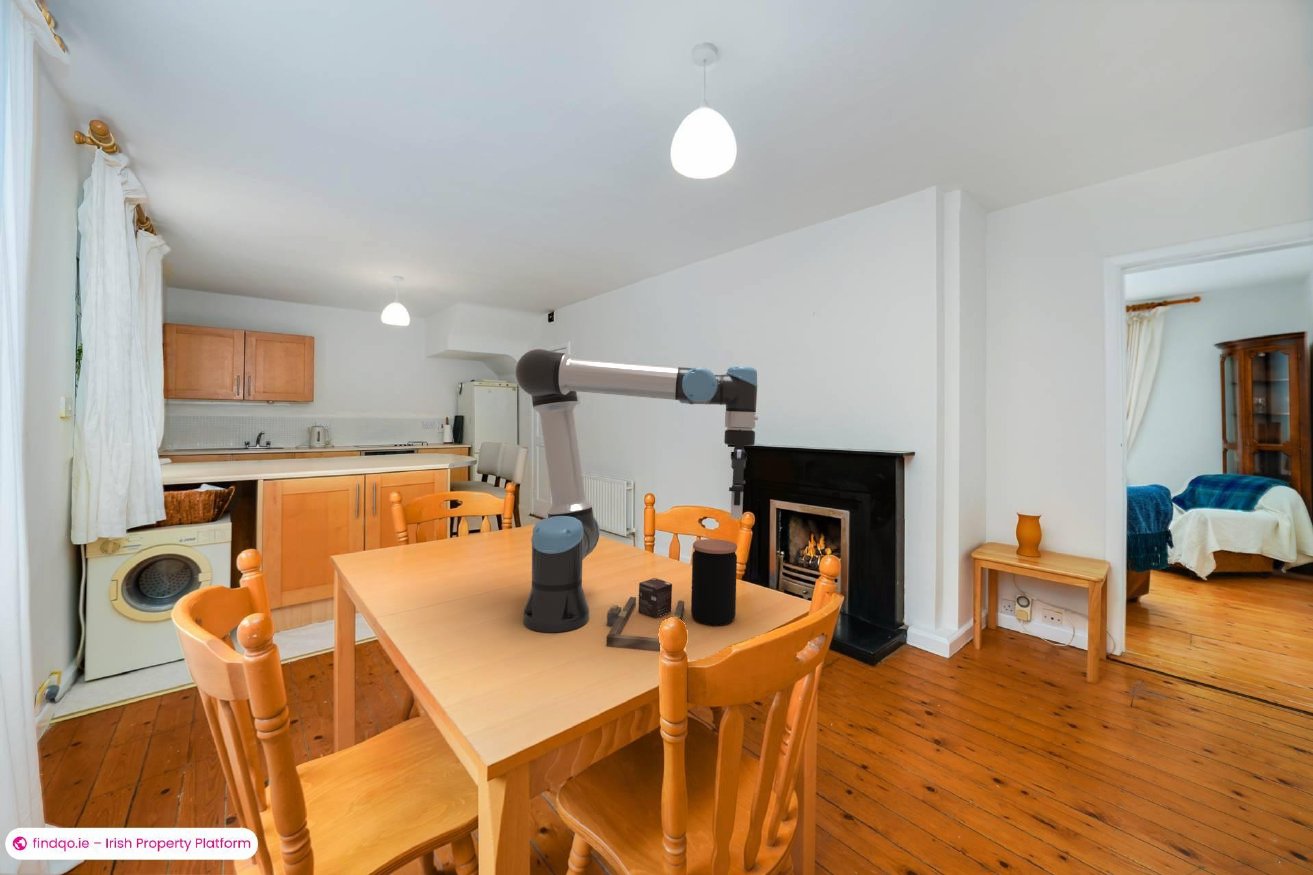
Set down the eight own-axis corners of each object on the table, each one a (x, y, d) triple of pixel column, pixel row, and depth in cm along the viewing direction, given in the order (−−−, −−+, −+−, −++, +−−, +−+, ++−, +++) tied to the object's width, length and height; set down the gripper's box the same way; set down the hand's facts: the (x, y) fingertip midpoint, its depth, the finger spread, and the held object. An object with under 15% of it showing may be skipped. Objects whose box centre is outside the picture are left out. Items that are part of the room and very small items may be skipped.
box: (637, 611, 123) (638, 582, 123) (654, 605, 128) (654, 577, 127) (655, 618, 119) (656, 588, 119) (672, 612, 123) (672, 583, 123)
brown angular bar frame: (594, 644, 104) (595, 627, 104) (620, 603, 128) (620, 589, 128) (672, 652, 102) (673, 633, 102) (684, 608, 126) (684, 593, 125)
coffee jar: (740, 614, 123) (742, 542, 122) (727, 630, 113) (730, 552, 113) (699, 606, 127) (701, 537, 127) (684, 621, 118) (686, 546, 117)
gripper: (757, 430, 111) (752, 524, 112) (753, 429, 136) (750, 506, 137) (723, 429, 112) (719, 522, 113) (726, 428, 137) (722, 504, 138)
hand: (736, 513), depth 125 cm, fingers open, 13 cm apart
